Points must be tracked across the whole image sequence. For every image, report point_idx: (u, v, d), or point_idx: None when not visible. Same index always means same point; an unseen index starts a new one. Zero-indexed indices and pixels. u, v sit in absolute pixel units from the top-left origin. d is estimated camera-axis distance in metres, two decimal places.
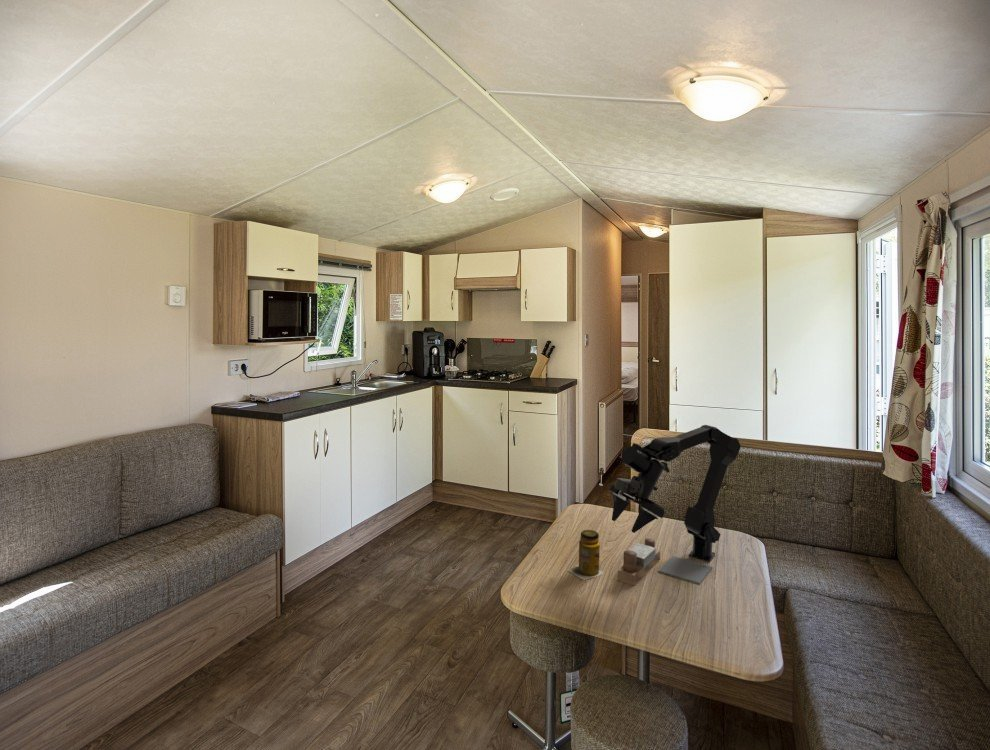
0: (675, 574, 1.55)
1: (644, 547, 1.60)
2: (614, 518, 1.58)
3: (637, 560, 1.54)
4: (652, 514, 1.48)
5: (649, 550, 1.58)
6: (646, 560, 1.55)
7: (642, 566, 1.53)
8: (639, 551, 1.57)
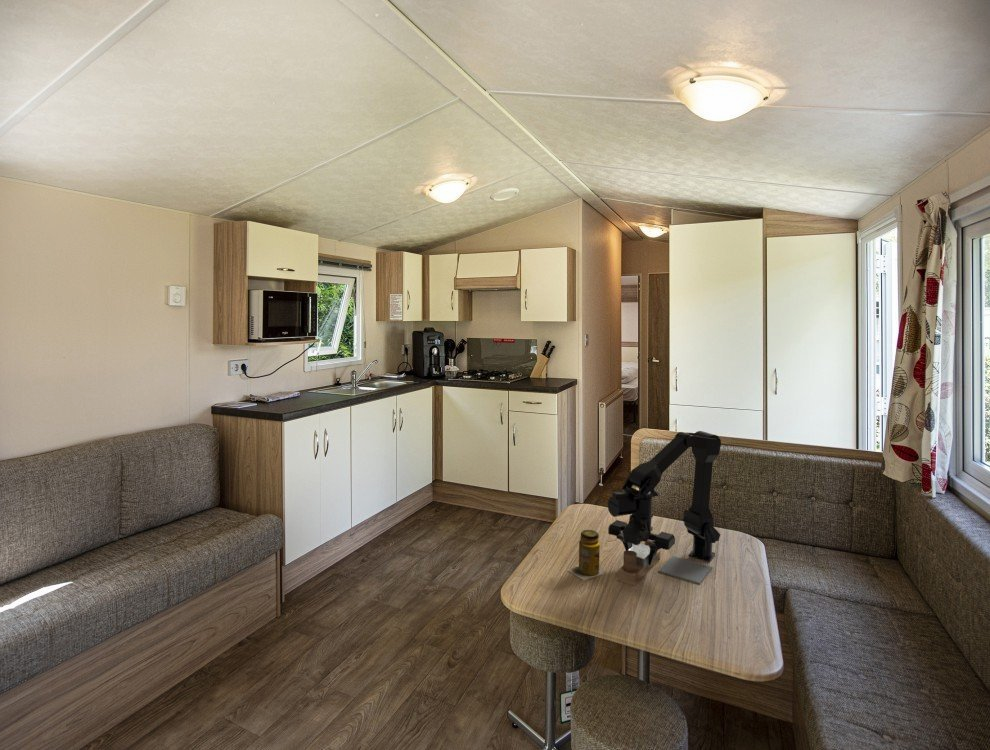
0: (675, 574, 1.55)
1: (644, 547, 1.60)
2: None
3: (637, 560, 1.54)
4: None
5: (649, 550, 1.58)
6: (646, 560, 1.55)
7: (642, 566, 1.53)
8: (639, 551, 1.57)
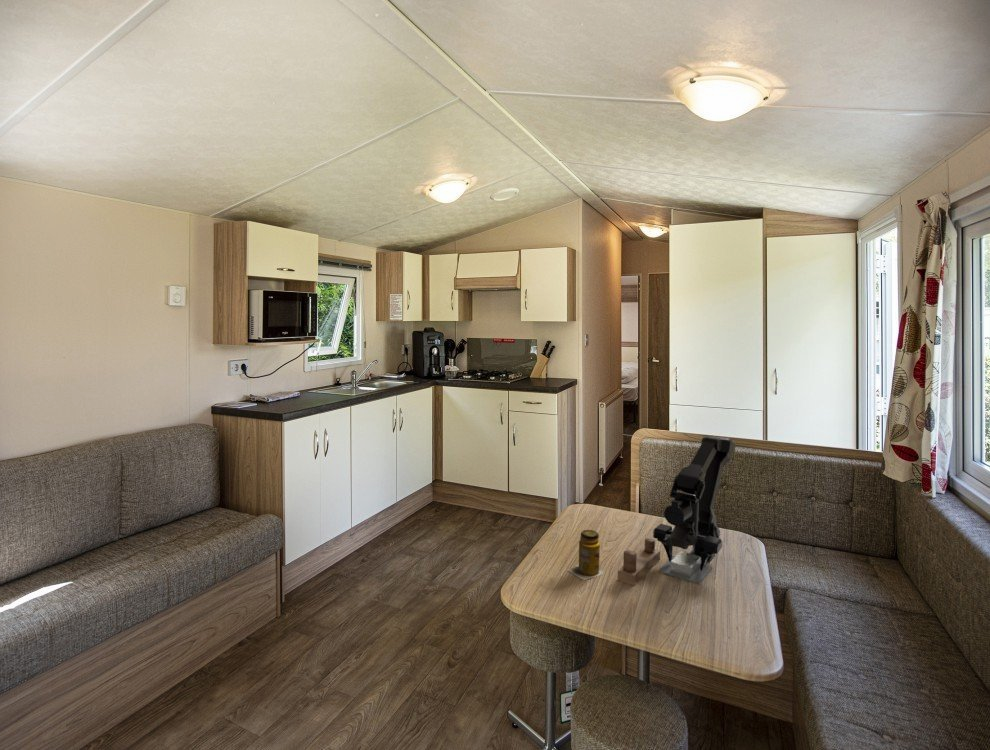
0: (675, 574, 1.55)
1: (689, 556, 1.60)
2: (671, 558, 1.61)
3: (684, 569, 1.54)
4: None
5: (694, 558, 1.58)
6: (693, 569, 1.55)
7: (689, 575, 1.53)
8: (685, 560, 1.57)
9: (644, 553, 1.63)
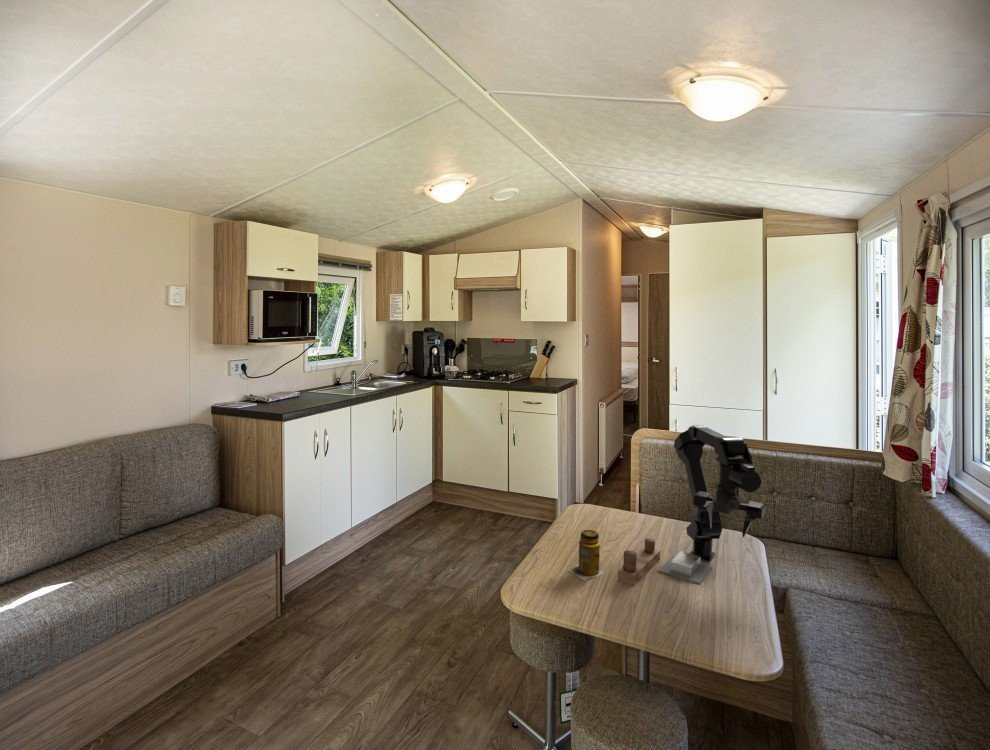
0: (675, 574, 1.55)
1: (689, 556, 1.60)
2: (710, 526, 1.57)
3: (684, 569, 1.54)
4: None
5: (694, 558, 1.58)
6: (693, 569, 1.55)
7: (689, 575, 1.53)
8: (685, 560, 1.57)
9: (644, 553, 1.63)
